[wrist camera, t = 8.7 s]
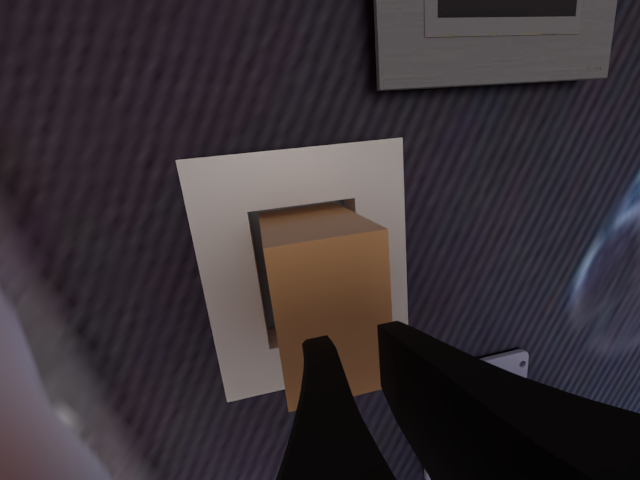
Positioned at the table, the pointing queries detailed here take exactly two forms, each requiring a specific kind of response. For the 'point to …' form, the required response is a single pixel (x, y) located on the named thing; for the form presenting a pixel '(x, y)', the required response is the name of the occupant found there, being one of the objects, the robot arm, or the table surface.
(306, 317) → the plug
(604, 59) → the electrical outlet
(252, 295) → the socket block
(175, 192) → the table surface
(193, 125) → the table surface
